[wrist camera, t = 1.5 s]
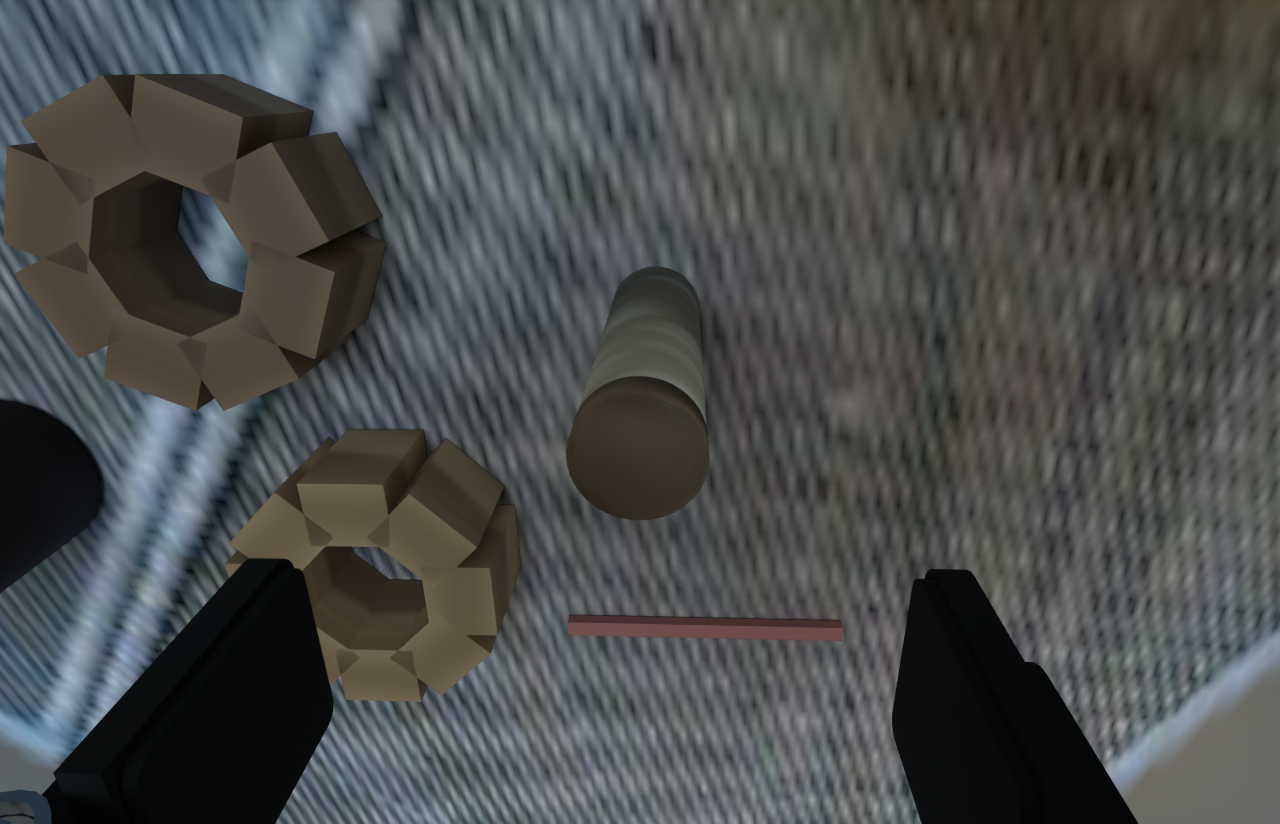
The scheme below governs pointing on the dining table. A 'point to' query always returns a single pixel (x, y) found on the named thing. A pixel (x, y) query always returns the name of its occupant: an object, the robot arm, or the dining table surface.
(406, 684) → the bead
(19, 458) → the bottle
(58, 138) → the bead
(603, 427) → the dowel
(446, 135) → the dining table surface
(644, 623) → the reddish brown square stick
